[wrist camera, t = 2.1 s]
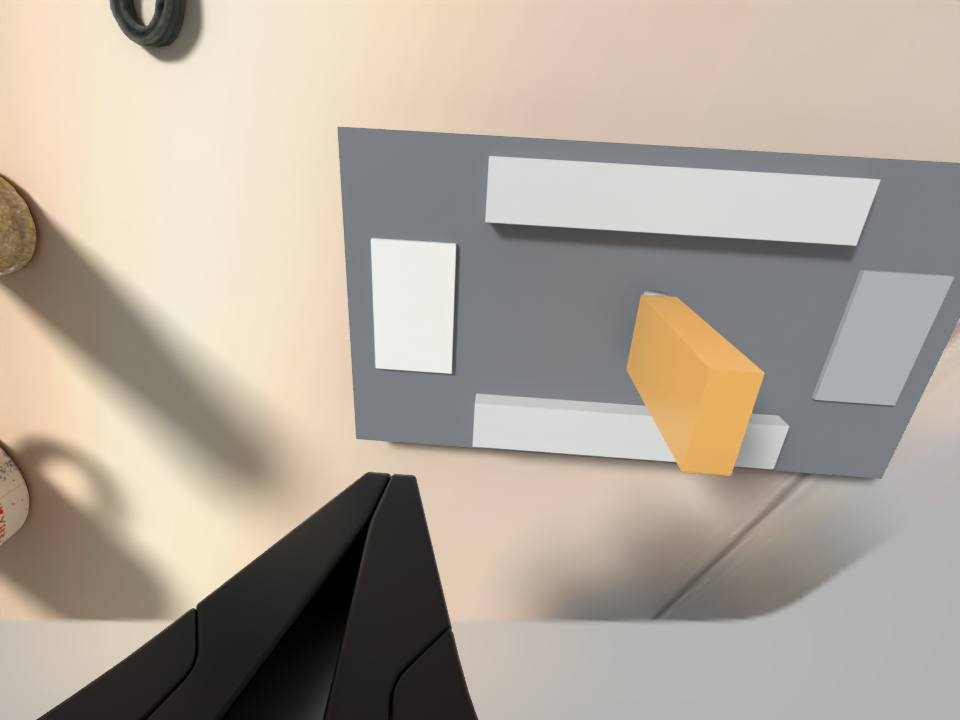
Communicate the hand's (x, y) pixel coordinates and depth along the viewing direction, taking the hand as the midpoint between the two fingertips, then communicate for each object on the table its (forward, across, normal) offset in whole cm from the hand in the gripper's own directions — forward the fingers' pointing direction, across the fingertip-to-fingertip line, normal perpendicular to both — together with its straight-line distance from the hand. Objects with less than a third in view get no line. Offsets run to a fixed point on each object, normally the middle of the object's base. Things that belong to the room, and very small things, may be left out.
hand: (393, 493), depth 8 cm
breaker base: (+12, -7, 0) cm, 14 cm away
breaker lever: (+10, -7, 0) cm, 12 cm away
